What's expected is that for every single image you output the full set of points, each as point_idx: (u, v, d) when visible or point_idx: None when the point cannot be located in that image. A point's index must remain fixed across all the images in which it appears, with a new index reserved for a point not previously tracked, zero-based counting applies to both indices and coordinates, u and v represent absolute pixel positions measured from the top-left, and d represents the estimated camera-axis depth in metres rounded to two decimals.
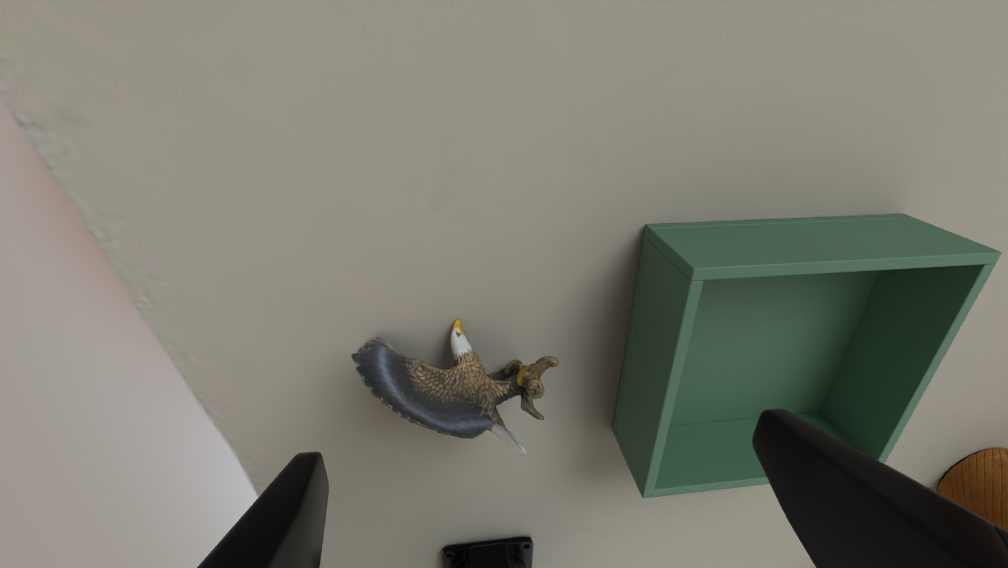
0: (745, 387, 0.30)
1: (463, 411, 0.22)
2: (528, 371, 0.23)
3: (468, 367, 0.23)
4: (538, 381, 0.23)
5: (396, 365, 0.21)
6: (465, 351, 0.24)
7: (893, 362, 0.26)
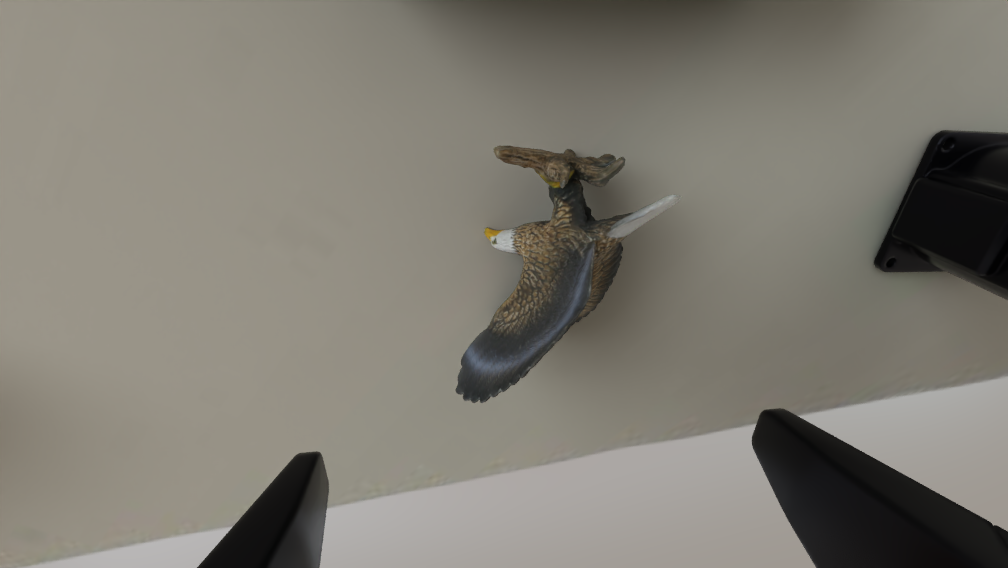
0: None
1: (569, 279, 0.16)
2: (538, 173, 0.15)
3: (526, 248, 0.17)
4: (548, 167, 0.15)
5: (488, 342, 0.17)
6: (511, 242, 0.18)
7: None
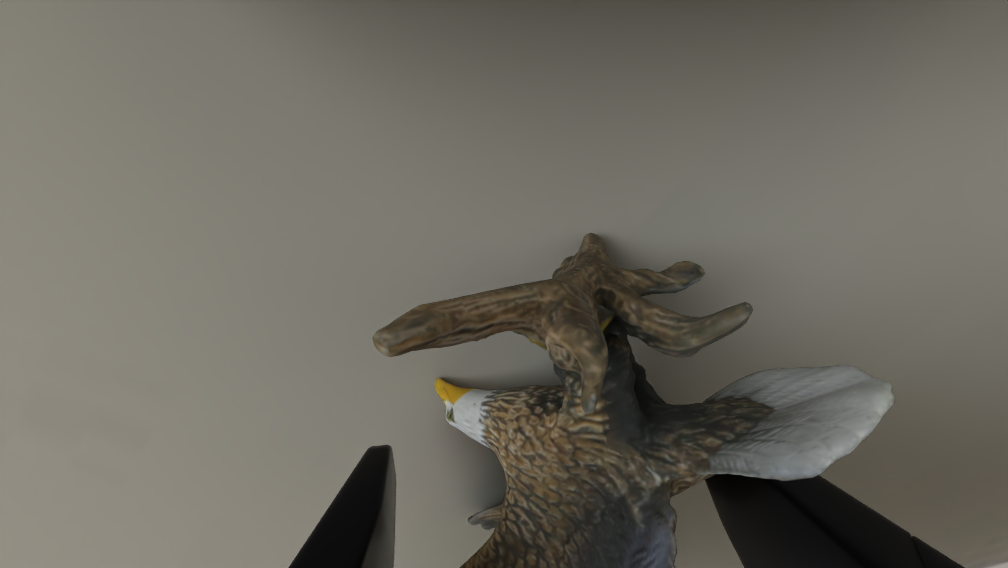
0: None
1: (609, 565, 0.07)
2: None
3: (509, 459, 0.08)
4: (548, 338, 0.06)
5: None
6: (480, 431, 0.09)
7: None
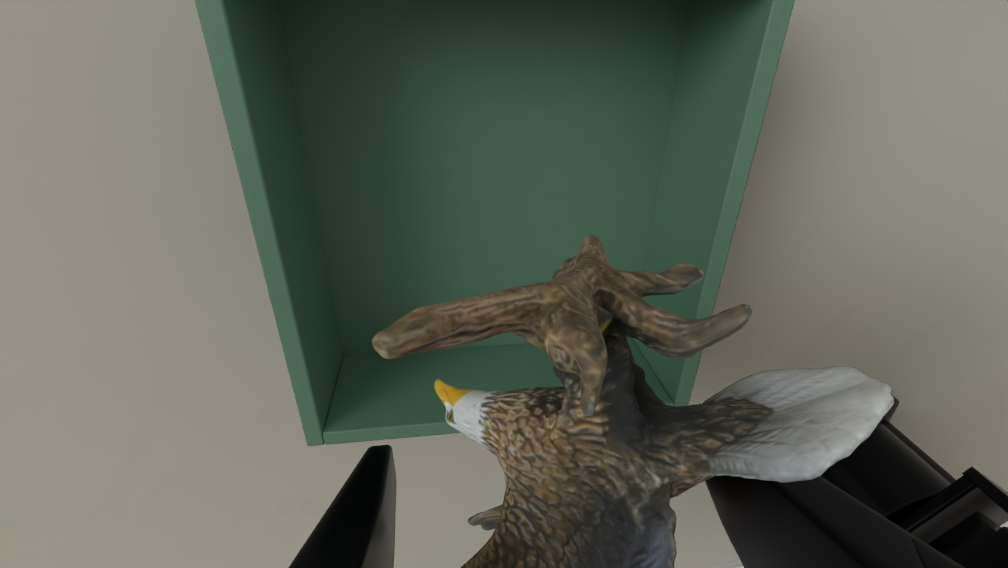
0: (593, 179, 0.18)
1: (609, 566, 0.07)
2: (524, 337, 0.06)
3: (508, 460, 0.08)
4: (547, 339, 0.06)
5: None
6: (480, 432, 0.09)
7: None
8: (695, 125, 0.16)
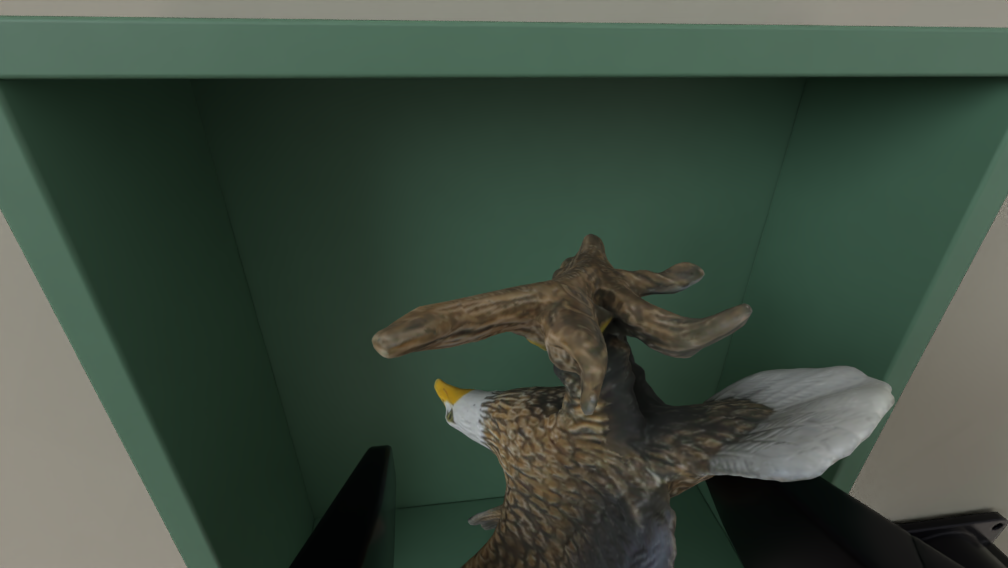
0: (655, 299, 0.13)
1: (609, 566, 0.07)
2: None
3: (508, 460, 0.08)
4: (547, 339, 0.06)
5: None
6: (480, 431, 0.09)
7: None
8: (818, 246, 0.11)
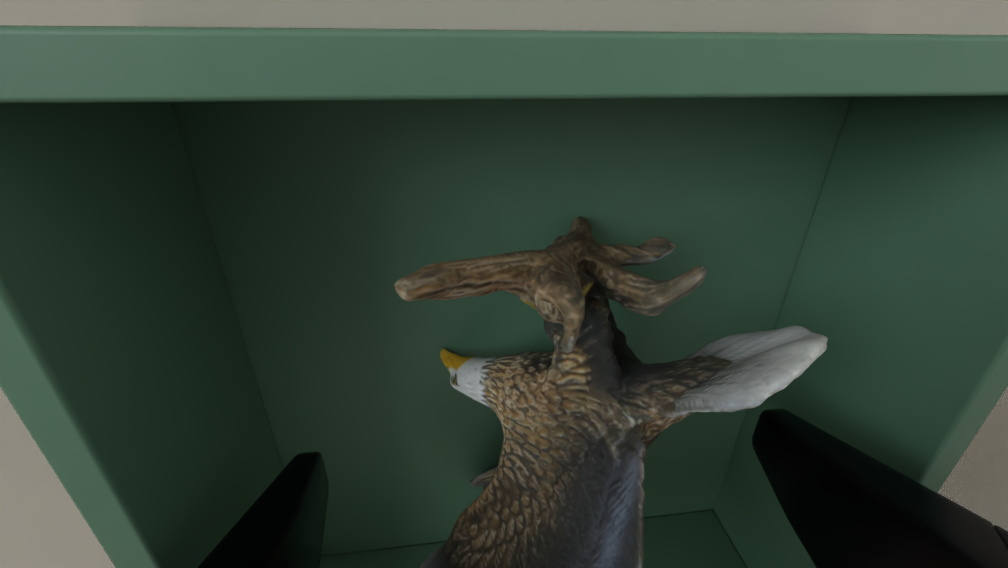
0: (680, 327, 0.12)
1: (591, 497, 0.08)
2: (518, 296, 0.07)
3: (506, 412, 0.09)
4: (536, 294, 0.07)
5: None
6: (481, 391, 0.10)
7: None
8: (868, 276, 0.10)
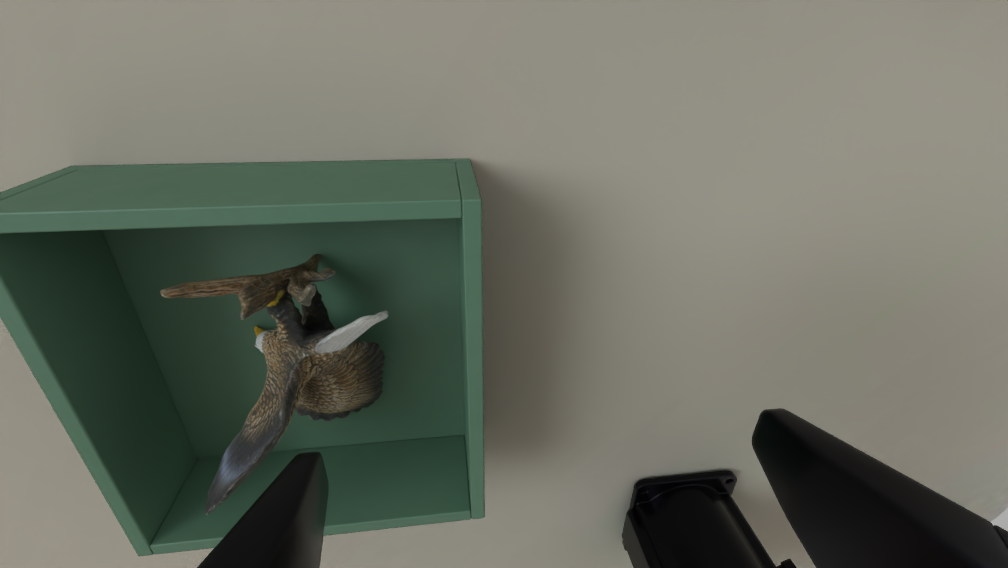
0: (400, 315, 0.21)
1: None
2: None
3: (265, 356, 0.18)
4: None
5: (236, 446, 0.18)
6: (261, 346, 0.19)
7: None
8: (461, 286, 0.18)
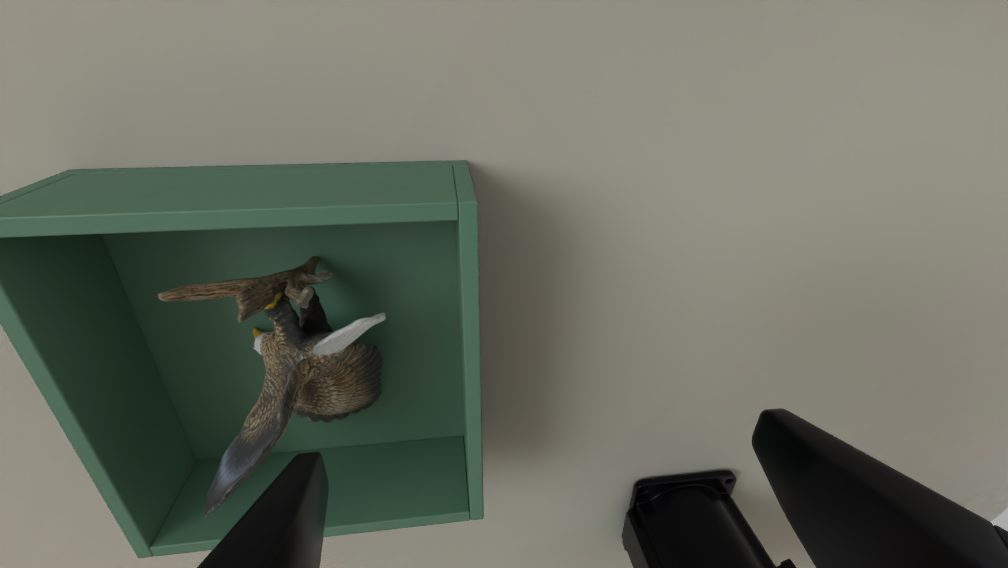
0: (398, 316, 0.21)
1: None
2: None
3: (264, 358, 0.18)
4: (237, 298, 0.15)
5: (235, 448, 0.18)
6: (259, 349, 0.19)
7: None
8: None
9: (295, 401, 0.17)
